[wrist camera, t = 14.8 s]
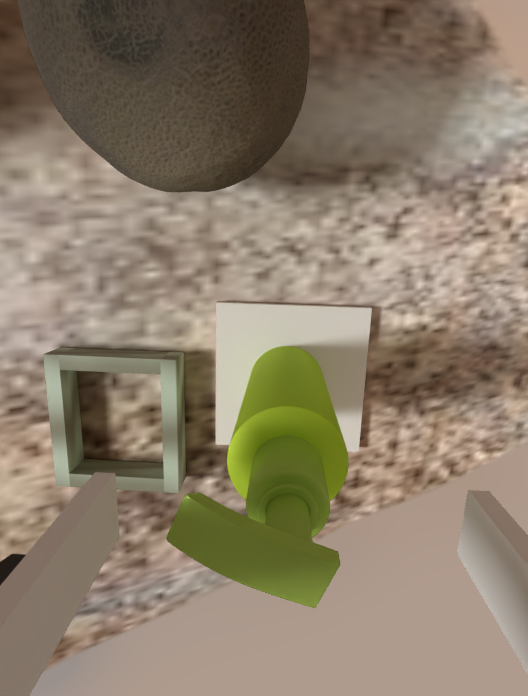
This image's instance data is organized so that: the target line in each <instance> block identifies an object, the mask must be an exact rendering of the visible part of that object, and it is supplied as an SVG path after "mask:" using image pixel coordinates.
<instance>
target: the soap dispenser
mask: <svg viewBox="0 0 528 696" xmlns="http://www.w3.org/2000/svg"><path fill="white" fill-rule="evenodd" d="M227 465H228V471H229V475H230V478H231V481H232V483H233V485H234V487H235V488H236V490H237V491H238V492H239V494H240V495H241V496H242V497H243V498H244V499H245V500H246V510H247V515H248V517H246V516H244V515H241V514H239V513H237V512H235V511H233V510H231V509H229V508H227V507H225V506H223V505H221V504H219V503H218V502H216V501H214V500H212V499H211V498H209V497H207V496H205V495H204V494H202V493H199V492H198V493H190V494H186V495H185V496H184V498H183V500H182V503H181V505H180V507H179V510H178V512H177V514H176V516H175V519H174V521H173V523H172V526H171V528H170V530H169V533H168V535H167V538H166V539H167V541H168V542H169V543H171V544H172V545H173V546H175V547H176V548H177V549H179V550H180V551H182V552H183V553H185V554H187V555H188V556H190V557H191V558H193V559H194V560H196V561H198V562H199V563H201V564H203V565H204V566H206V567H208V568H210V569H212V570H214V571H216V572H217V573H219V574H221V575H224V576H226V577H228V578H230V579H232V580H234V581H237V582H239V583H242V584H244V585H246V586H249V587H252V588H254V589H257V590H260V591H263V592H265V593H268V594H271V595H274V596H277V597H280V598H283V599H286V600H290V601H293V602H296V603H299V604H302V605H306V606H309V607H312V608H316V606H317V604H318V603H319V601H320V599H321V597H322V596H323V594H324V592H325V590H326V589H327V587H328V585H329V583H330V582H331V580H332V578H333V576H334V575H335V573H336V571H337V569H338V568H339V566H340V559H339V554H338V551H335V550H332V549H330V548H327V547H324V546H322V545H319V544H316V543H313V542H312V537H314V536H315V535H317V534H318V533H319V532H320V531H321V530H322V529H323V527H324V526H325V524H326V522H327V520H328V517H329V513H330V501H331V500H332V499H333V498H334V497H335V496H336V495H337V493H338V492H339V491H340V489H341V488H342V486H343V484H344V482H345V479H346V476H347V472H348V452H347V448H346V445H345V442H344V438H343V435H342V432H341V429H340V426H339V423H338V420H337V417H336V414H335V411H334V408H333V405H332V401H331V398H330V395H329V392H328V389H327V386H326V383H325V380H324V377H323V374H322V371H321V368H320V366H319V364H318V362H317V361H316V360H315V358H314V357H313V356H312V355H310V354H309V353H308V352H306V351H304V350H302V349H300V348H297V347H292V346H281V347H276V348H273V349H271V350H269V351H267V352H265V353H264V354H263V355H262V356H260V357H259V359H258V360H257V361H256V363H255V364H254V366H253V368H252V371H251V375H250V378H249V381H248V385H247V388H246V391H245V395H244V398H243V401H242V405H241V408H240V411H239V415H238V418H237V422H236V425H235V428H234V432H233V435H232V438H231V442H230V445H229V449H228V455H227Z"/></svg>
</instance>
